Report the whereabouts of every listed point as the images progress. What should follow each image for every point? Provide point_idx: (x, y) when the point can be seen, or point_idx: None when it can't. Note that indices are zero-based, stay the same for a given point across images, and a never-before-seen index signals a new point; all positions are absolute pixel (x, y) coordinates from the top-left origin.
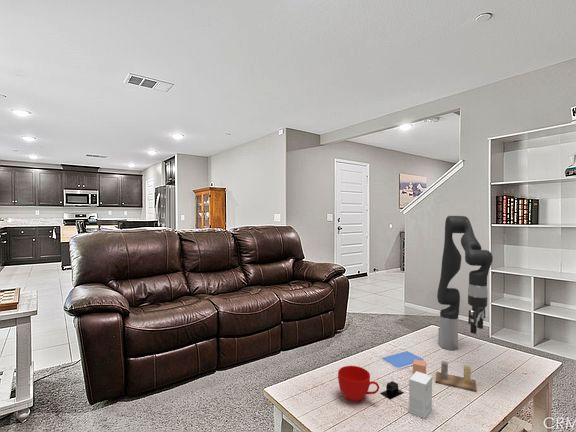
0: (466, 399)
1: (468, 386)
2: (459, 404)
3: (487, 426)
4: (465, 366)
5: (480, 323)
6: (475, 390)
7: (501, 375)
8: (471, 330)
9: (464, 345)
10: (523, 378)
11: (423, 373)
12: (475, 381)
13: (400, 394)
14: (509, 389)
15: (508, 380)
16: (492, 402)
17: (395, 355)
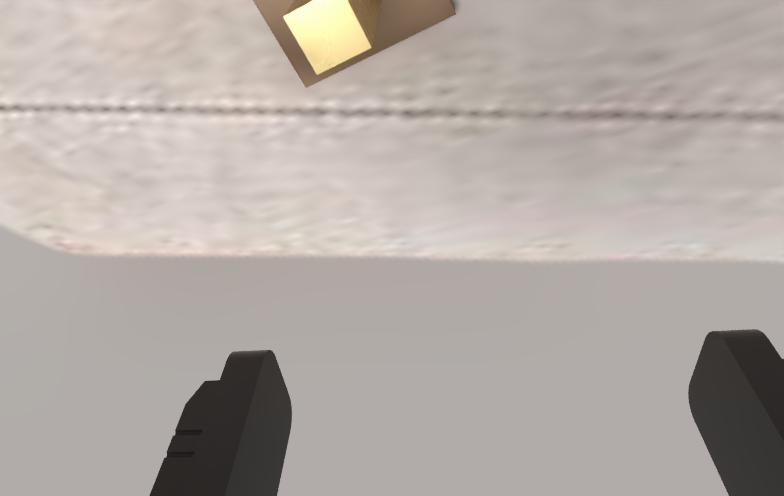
0: (158, 77)
1: None
2: (59, 76)
3: (53, 243)
4: (328, 11)
5: (754, 493)
6: (303, 79)
7: (739, 92)
8: (182, 426)
9: None
10: (779, 200)
11: None
12: (430, 25)
13: None
14: (534, 193)
15: (676, 151)
16: (283, 186)
17: None
